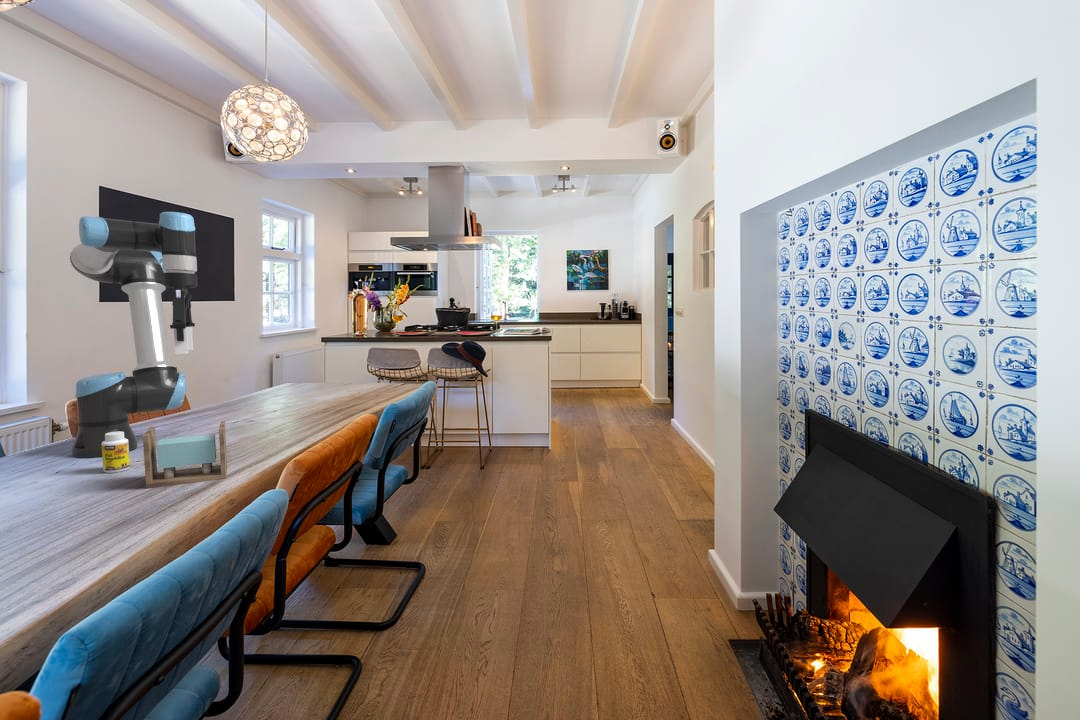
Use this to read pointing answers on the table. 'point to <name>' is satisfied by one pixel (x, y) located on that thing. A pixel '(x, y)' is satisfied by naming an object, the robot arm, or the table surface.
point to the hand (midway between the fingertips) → (184, 352)
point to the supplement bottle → (115, 452)
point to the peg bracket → (184, 475)
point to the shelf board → (186, 451)
